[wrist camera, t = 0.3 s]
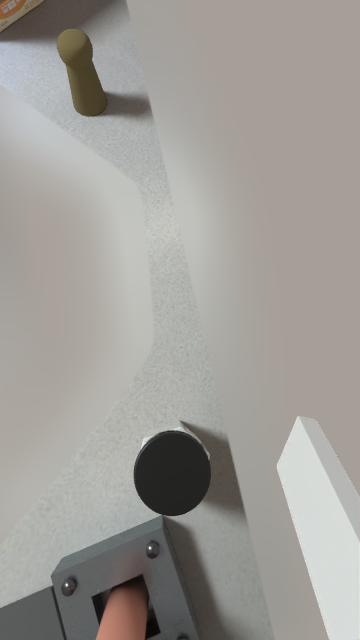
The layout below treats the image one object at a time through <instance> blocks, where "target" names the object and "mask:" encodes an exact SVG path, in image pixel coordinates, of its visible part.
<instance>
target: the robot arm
mask: <svg viewBox="0 0 360 640" xmlns="http://www.w3.org/2000/svg"><path fill="white" fill-rule="evenodd" d="M277 470H278V474H279V477H280V480H281V483H282V487H283V490H284V493H285V497H286V500H287V503H288V506H289V510H290V512H291V516H292V519H293V523H294V526H295V529H296V533H297V536H298V539H299V542H300V546H301V549H302V552H303V555H304V559H305V562H306V565H307V568H308V571H309V575H310V578H311V582H312V585H313V588H314V591H315V595H316V598H317V601H318V604H319V607H320V611H321V614H322V617H323V621H324V624H325V627H326V631H327V634H328V637H329V640H360V497H359V495H358V493H357V492H356V490H355V488H354V486H353V484H352V483H351V481H350V479H349V477H348V476H347V474H346V472H345V470H344V468H343V467H342V465H341V463H340V461H339V460H338V458H337V456H336V454H335V452H334V451H333V449H332V447H331V445H330V443H329V442H328V440H327V438H326V436H325V435H324V433H323V431H322V429H321V428H320V426H319V424H318V423H317V420H315V419H310V418H306V417H302V416H298V417H297V420H296V422H295V425H294V427H293V429H292V431H291V434H290V436H289V439H288V441H287V443H286V446H285V448H284V450H283V452H282V455H281V457H280V459H279V462H278V464H277Z"/></svg>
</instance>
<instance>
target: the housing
mask: <svg viewBox="0 0 360 640" xmlns="http://www.w3.org/2000/svg"><path fill="white" fill-rule="evenodd" d="M134 577H138V578H140V579H141V580H142V581H143V582H144V583H145V584H146V586H147V589H148V592H149V605H148V614H147V623H146V632H145V640H202V636H201V629H200V626H199V623H198V620H197V617H196V614H195V611H194V608H193V605H192V602H191V599H190V596H189V593H188V590H187V587H186V584H185V581H184V578H183V575H182V572H181V569H180V566H179V563H178V560H177V557H176V554H175V551H174V548H173V545H172V542H171V539H170V536H169V533H168V530H167V527H166V524H165V521H164V518H163V515H162V516H159V517H157V518H155V519H152V520H150V521H148V522H145V523H143V524H141V525H138V526H136V527H134V528H131V529H129V530H127V531H124V532H122V533H120V534H117V535H115V536H113V537H110V538H108V539H106V540H103V541H101V542H99V543H97V544H94V545H92V546H90V547H87V548H85V549H83V550H80V551H78V552H76V553H73V554H71V555H69V556H66V557H64V558H62V559H61V561H60V562H59V564H58V565H57V567H56V568H55V570H54V571H53V573H52V574H51V579H52V583H53V587H54V591H55V594H56V598H57V602H58V606H59V610H60V614H61V618H62V622H63V626H64V630H65V634H66V637H67V640H96V637H97V634H98V631H99V627H100V624H101V621H102V617H103V614H104V611H105V608H106V604H107V601H108V598H109V595H110V591H111V589H112V587H114V586H116V585H118V584H120V583H123V582H125V581H127V580H129V579H132V578H134Z"/></svg>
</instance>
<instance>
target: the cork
mask: <svg viewBox="0 0 360 640" xmlns="http://www.w3.org/2000/svg"><path fill="white" fill-rule="evenodd" d="M57 49H58V52H59V55H60V57H61V59H62V61H63V62H64V63H65V64H66V68H67V73H68V78H69V83H70V89H71V94H72V99H73V104H74V107H75V109H76V111H77V112H78V113H80V114H81V115H84V116H95V115H98V114H100V113H102V112H103V111H104V109H105V108H106V105H107V99H106V97H105V94H104V91H103V88H102V86H101V83H100V80H99V78H98V75H97V72H96V70H95V67H94V64H93V62H92V57H93V48H92V44H91V42H90V39H89V37H88V36H87V35H86V34H85V33H84V32H83V31H81V30H79V29H67V30H65V31H63V32H62V33H61V34H60V35H59V37H58V40H57Z"/></svg>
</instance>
